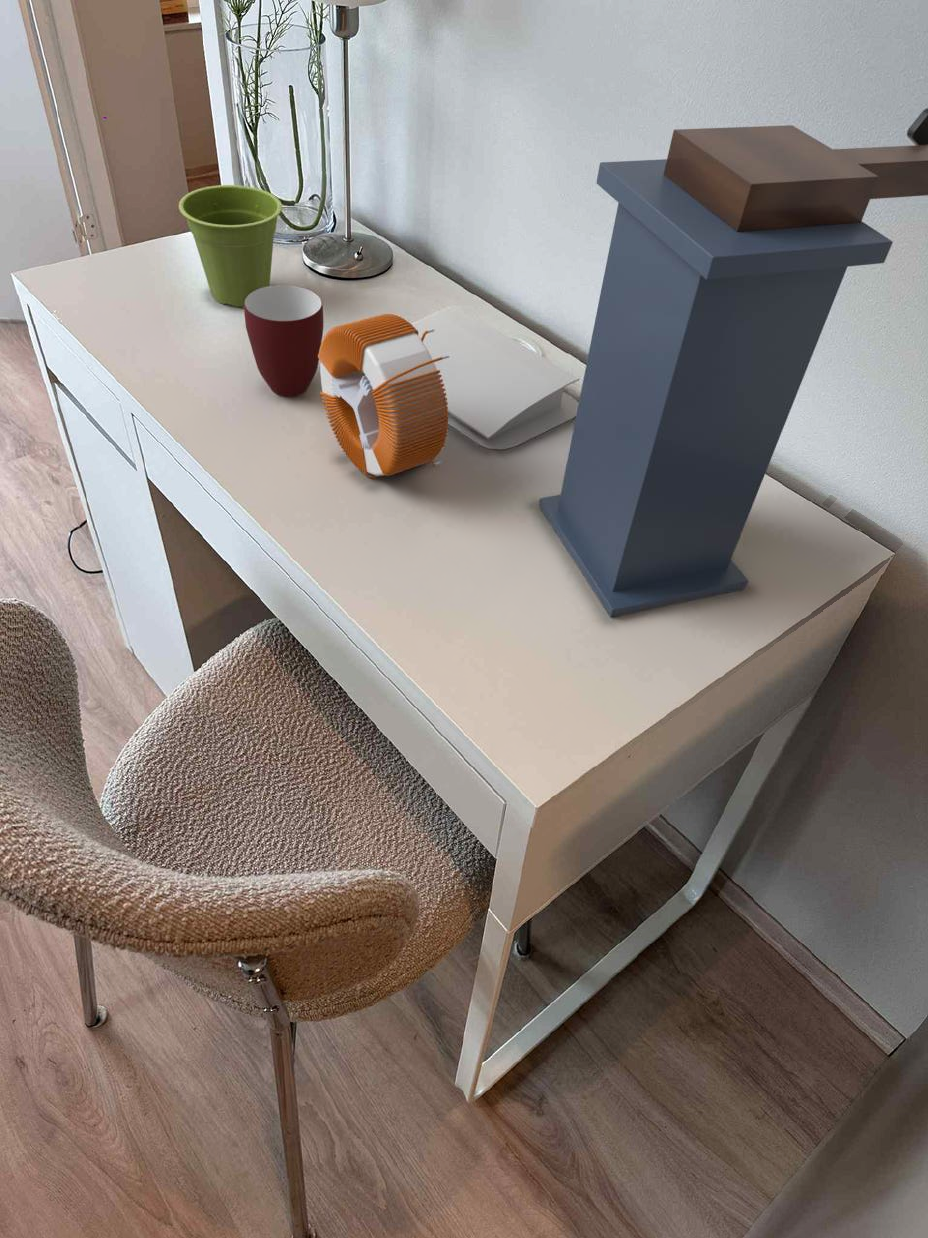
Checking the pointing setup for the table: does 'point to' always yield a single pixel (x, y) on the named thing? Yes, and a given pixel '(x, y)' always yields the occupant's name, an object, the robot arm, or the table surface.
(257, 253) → the plant pot
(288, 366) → the mug
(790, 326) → the blue tapered column stand
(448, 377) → the book
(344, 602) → the table surface
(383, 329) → the coil
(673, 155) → the paddle
